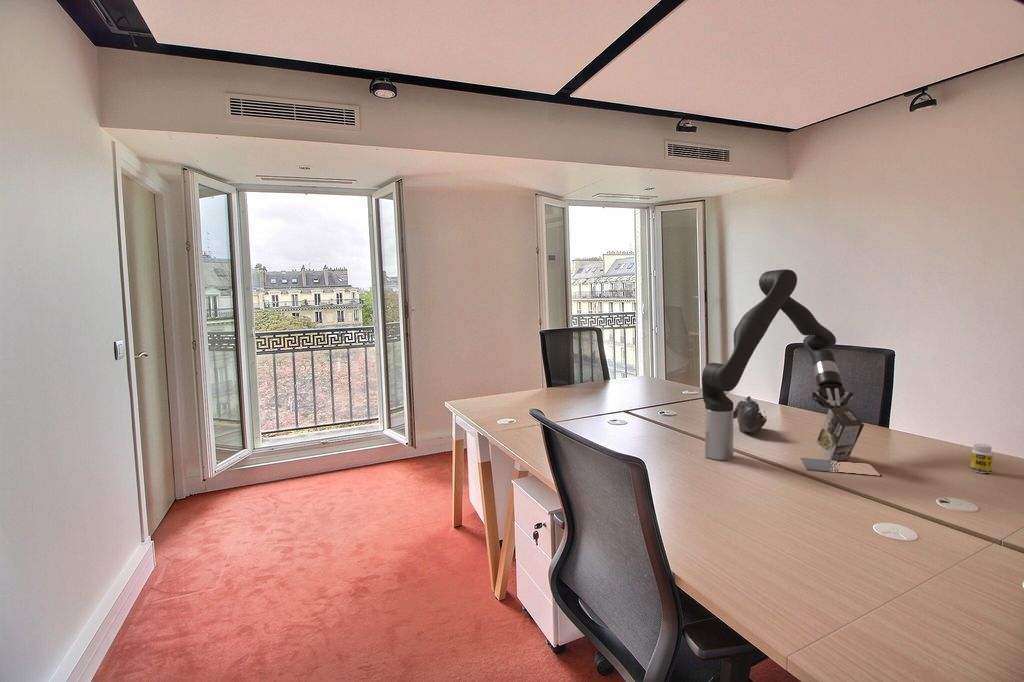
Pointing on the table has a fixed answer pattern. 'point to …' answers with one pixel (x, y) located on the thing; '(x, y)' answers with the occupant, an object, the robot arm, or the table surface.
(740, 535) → the table surface
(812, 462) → the grey flat sheet
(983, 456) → the supplement bottle
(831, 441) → the coffee box
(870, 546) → the table surface
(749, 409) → the dark grey lumpy sculpture
